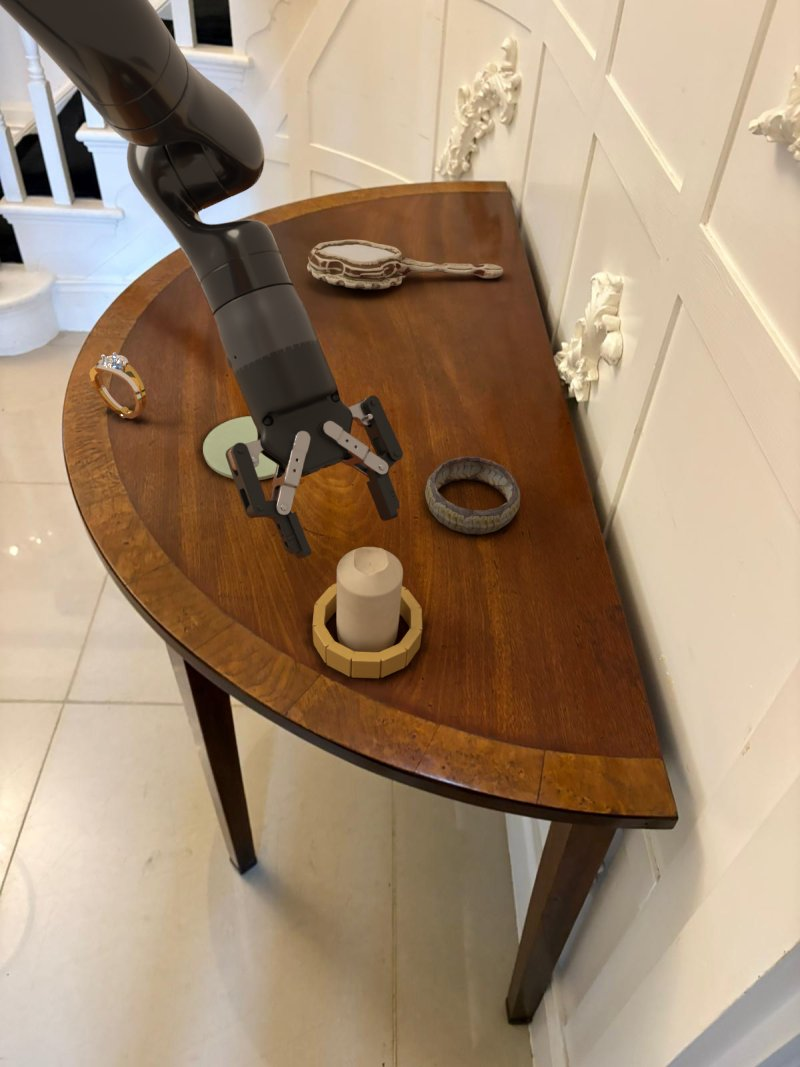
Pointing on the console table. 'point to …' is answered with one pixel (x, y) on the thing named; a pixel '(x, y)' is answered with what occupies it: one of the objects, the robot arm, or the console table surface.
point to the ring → (119, 368)
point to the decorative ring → (467, 518)
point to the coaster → (228, 437)
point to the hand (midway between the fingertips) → (349, 537)
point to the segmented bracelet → (366, 661)
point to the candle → (368, 599)
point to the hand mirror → (378, 265)
